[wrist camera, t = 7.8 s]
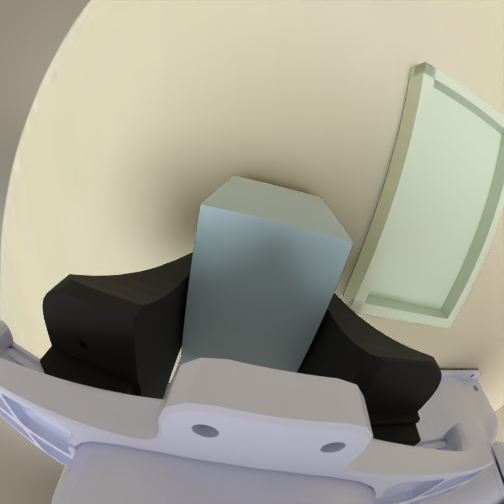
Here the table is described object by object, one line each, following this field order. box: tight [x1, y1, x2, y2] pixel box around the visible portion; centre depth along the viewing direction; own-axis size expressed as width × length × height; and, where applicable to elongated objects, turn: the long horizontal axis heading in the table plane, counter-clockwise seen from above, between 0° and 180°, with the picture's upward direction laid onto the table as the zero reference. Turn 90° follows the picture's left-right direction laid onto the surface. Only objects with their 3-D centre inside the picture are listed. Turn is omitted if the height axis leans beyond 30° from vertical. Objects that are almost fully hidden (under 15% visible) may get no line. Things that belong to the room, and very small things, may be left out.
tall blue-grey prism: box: [180, 175, 354, 373], centre depth 11 cm, size 4×9×6 cm, turn 167°
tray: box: [343, 62, 504, 328], centre depth 13 cm, size 8×14×2 cm, turn 167°
